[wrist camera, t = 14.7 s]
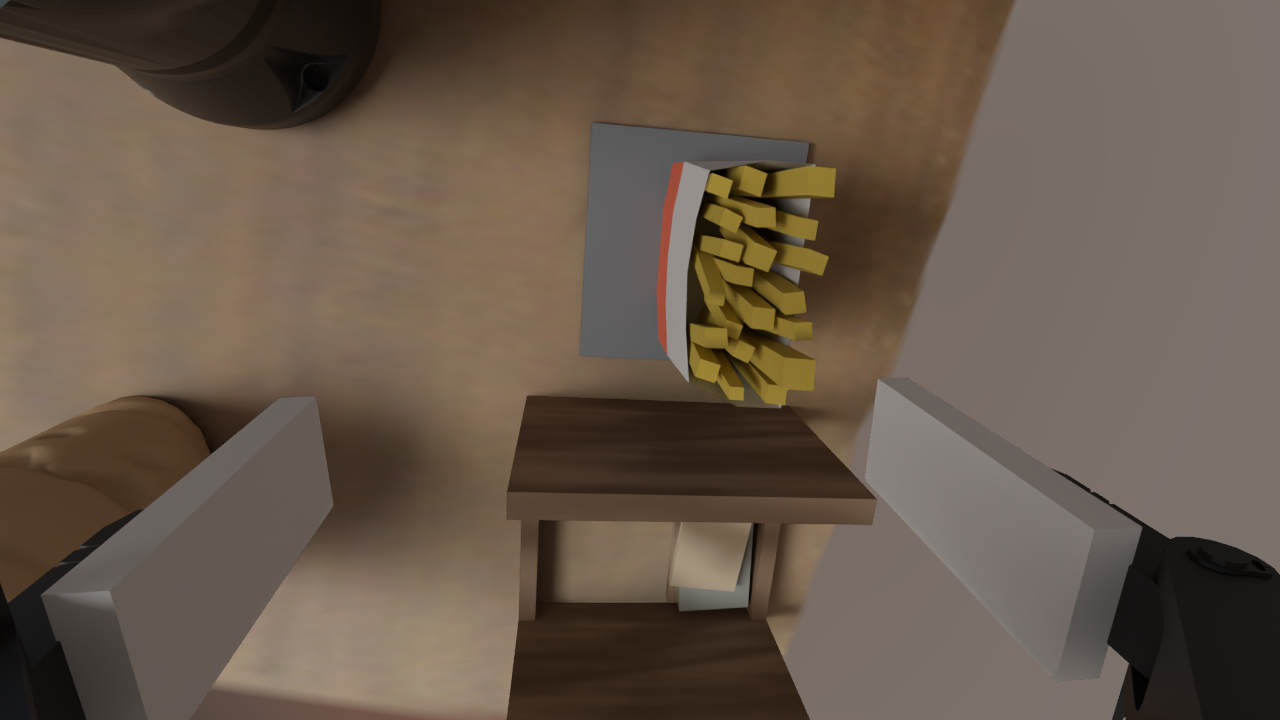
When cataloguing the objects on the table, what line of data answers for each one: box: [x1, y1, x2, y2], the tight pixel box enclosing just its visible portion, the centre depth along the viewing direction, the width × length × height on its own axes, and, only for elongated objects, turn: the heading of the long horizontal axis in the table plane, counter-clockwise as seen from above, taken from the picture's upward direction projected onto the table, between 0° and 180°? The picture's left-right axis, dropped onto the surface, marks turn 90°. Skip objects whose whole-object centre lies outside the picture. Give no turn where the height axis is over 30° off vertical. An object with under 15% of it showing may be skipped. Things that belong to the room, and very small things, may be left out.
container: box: [0, 396, 211, 603], centre depth 34 cm, size 13×13×18 cm
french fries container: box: [657, 160, 836, 408], centre depth 33 cm, size 5×11×18 cm, turn 176°
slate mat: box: [580, 123, 809, 360], centre depth 42 cm, size 15×14×1 cm
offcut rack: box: [507, 396, 877, 720], centre depth 41 cm, size 18×19×14 cm
